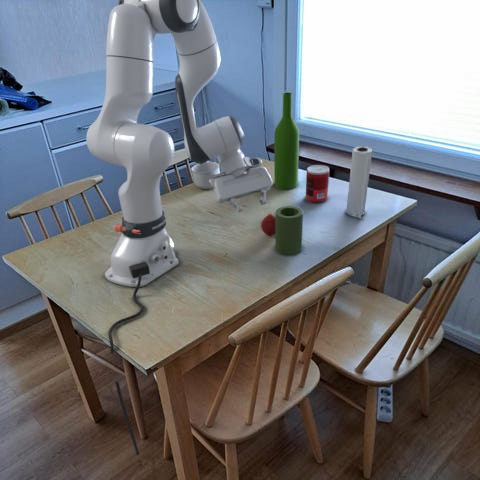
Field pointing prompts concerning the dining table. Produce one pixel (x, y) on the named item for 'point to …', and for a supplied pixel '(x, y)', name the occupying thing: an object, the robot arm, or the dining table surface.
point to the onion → (269, 225)
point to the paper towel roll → (358, 181)
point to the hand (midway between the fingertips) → (252, 207)
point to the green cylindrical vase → (289, 230)
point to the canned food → (317, 183)
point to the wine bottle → (286, 148)
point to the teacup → (204, 174)
